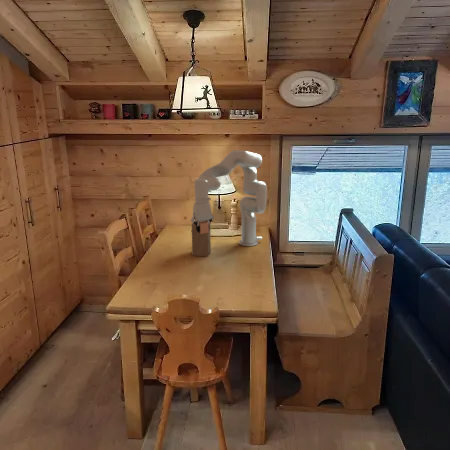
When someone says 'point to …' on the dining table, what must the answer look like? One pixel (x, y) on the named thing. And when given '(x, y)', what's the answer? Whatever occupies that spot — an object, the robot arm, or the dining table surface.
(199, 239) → the wooden block
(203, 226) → the brick terracotta
